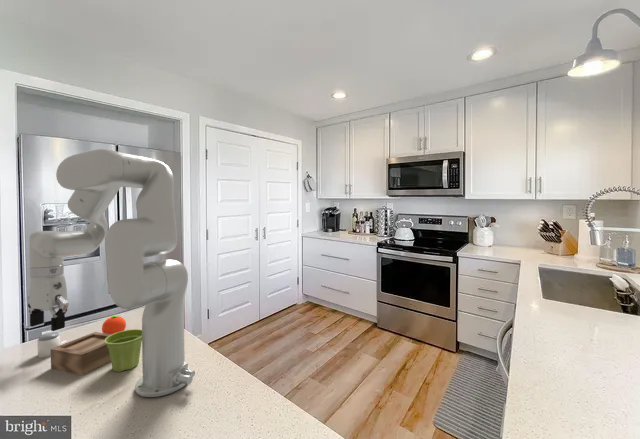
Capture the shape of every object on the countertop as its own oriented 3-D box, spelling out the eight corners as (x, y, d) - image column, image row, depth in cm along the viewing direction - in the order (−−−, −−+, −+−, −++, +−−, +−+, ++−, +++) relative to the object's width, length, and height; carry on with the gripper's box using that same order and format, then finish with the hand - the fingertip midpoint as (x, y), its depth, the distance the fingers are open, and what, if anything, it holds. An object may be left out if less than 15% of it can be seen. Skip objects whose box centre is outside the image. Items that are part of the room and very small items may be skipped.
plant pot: (125, 377, 75) (124, 344, 75) (96, 373, 77) (95, 341, 76) (153, 359, 84) (152, 330, 84) (126, 356, 86) (125, 328, 86)
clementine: (104, 333, 102) (104, 313, 102) (127, 329, 106) (127, 310, 106) (99, 342, 95) (99, 321, 95) (124, 337, 99) (124, 317, 99)
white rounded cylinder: (64, 351, 89) (63, 332, 89) (44, 359, 84) (44, 339, 84) (53, 349, 90) (53, 330, 90) (33, 357, 86) (33, 337, 85)
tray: (124, 355, 87) (124, 336, 87) (82, 376, 76) (81, 354, 76) (95, 349, 91) (95, 331, 91) (50, 369, 79) (50, 349, 79)
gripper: (80, 271, 88) (80, 326, 88) (43, 267, 93) (44, 319, 93) (51, 276, 81) (51, 336, 81) (13, 271, 86) (13, 327, 86)
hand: (47, 327), depth 87 cm, fingers open, 9 cm apart
